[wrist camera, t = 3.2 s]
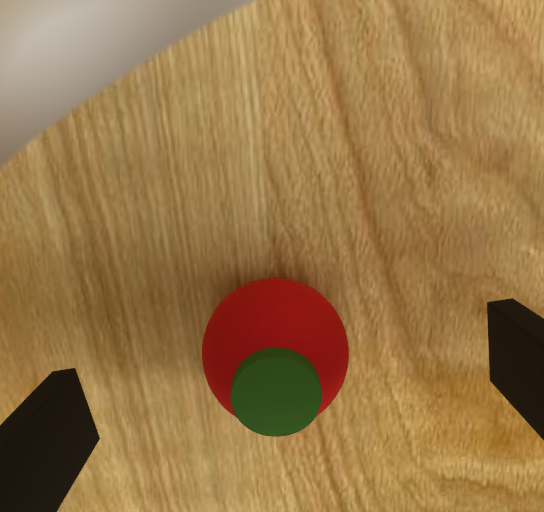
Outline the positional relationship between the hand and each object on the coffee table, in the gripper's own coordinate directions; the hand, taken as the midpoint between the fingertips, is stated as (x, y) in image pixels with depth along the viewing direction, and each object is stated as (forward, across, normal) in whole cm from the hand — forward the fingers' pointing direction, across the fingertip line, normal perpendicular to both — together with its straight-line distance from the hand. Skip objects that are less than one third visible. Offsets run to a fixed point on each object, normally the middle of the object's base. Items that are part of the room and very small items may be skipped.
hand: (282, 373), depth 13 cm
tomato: (+4, 0, 0) cm, 4 cm away
